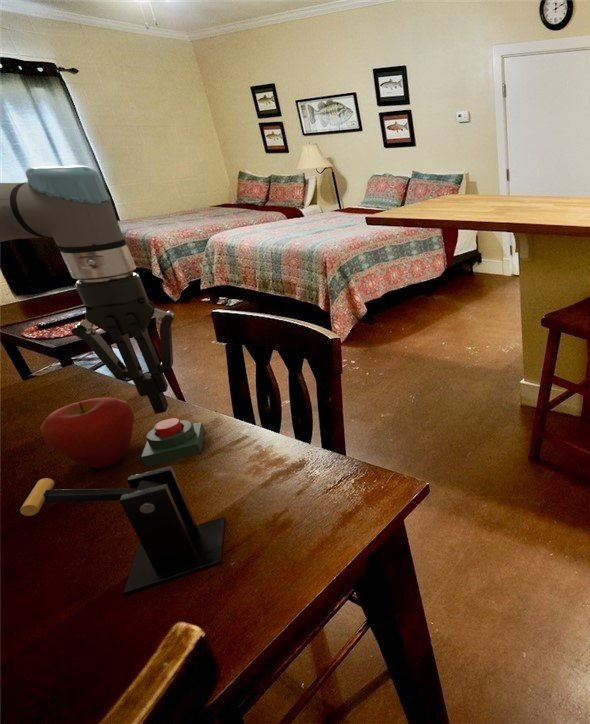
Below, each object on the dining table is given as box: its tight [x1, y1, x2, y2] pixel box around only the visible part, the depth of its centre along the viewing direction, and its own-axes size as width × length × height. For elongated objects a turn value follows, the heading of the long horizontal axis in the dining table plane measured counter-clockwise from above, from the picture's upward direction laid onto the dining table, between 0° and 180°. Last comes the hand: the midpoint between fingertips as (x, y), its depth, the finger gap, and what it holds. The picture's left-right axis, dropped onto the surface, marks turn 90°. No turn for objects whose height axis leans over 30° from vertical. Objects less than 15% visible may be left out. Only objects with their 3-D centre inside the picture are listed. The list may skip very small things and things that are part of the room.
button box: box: [140, 419, 206, 468], centre depth 84 cm, size 8×8×4 cm
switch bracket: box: [119, 465, 227, 597], centre depth 60 cm, size 10×9×13 cm
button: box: [153, 417, 182, 437], centre depth 83 cm, size 4×4×2 cm
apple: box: [39, 396, 135, 469], centre depth 79 cm, size 11×11×12 cm
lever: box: [19, 477, 169, 517], centre depth 56 cm, size 12×5×2 cm, turn 119°
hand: (161, 409), depth 82 cm, fingers closed
